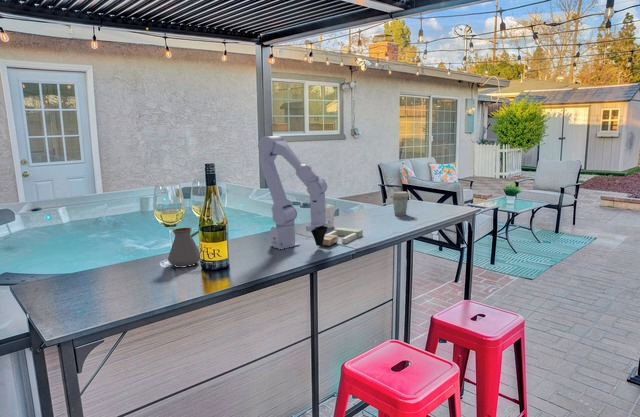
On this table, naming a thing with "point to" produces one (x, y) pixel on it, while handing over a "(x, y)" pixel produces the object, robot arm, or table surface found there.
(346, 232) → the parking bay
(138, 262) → the table surface
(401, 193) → the coffee cup
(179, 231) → the coffee pot
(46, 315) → the table surface
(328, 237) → the tan block
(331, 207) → the white cup
